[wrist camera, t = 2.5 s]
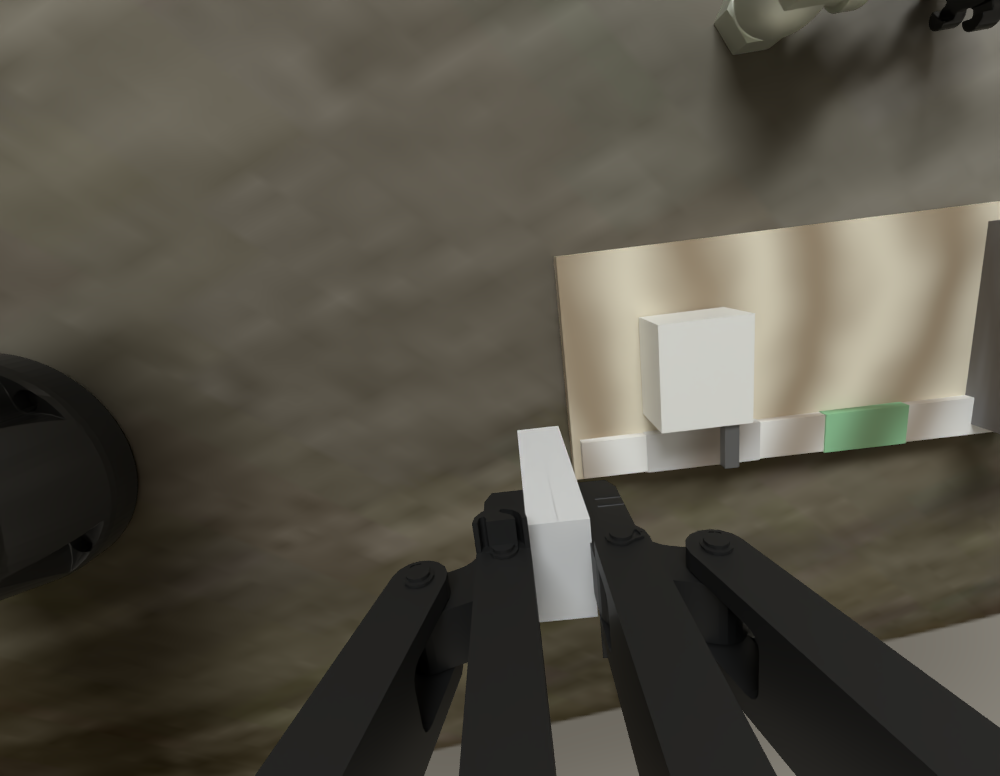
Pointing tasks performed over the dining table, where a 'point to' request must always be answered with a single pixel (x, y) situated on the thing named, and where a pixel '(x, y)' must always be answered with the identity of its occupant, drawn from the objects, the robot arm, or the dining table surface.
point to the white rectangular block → (699, 373)
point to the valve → (794, 3)
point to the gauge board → (795, 336)
